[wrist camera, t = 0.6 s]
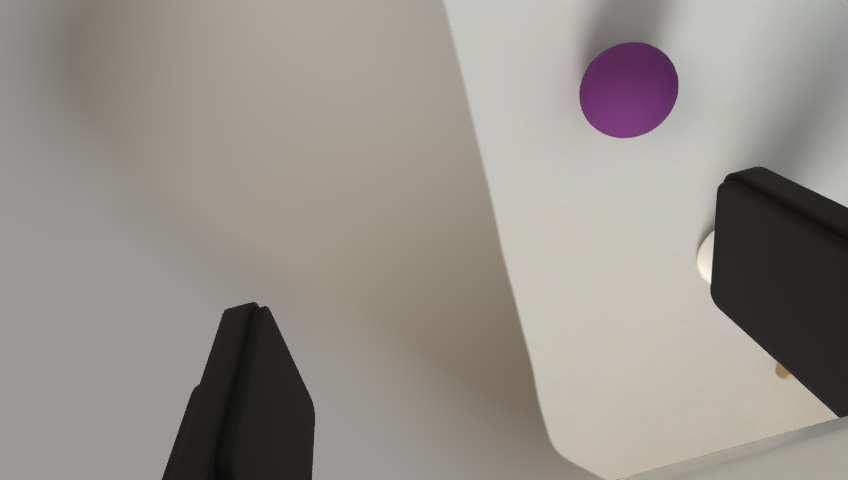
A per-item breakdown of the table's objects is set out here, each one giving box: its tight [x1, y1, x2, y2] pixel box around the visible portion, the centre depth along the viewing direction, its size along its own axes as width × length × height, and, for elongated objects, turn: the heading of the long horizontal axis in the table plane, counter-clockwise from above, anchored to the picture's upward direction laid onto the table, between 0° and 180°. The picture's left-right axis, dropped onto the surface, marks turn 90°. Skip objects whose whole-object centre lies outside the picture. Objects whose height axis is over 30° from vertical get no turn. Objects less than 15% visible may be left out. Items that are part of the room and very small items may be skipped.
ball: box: [580, 42, 678, 138], centre depth 28 cm, size 5×5×5 cm
